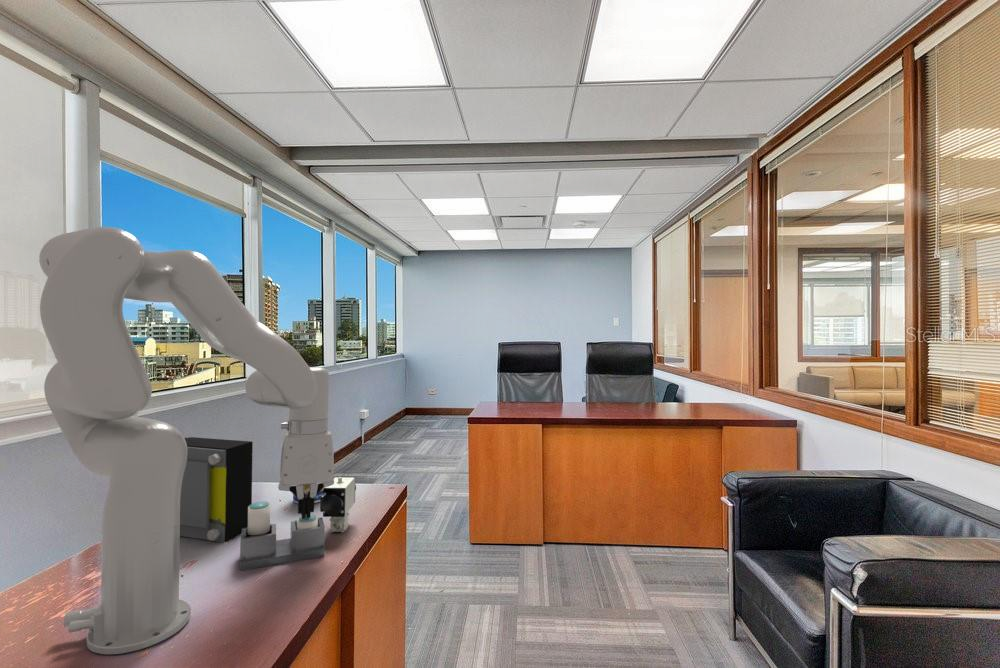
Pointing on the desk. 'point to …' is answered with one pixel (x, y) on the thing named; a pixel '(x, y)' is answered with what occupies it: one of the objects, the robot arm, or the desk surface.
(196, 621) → the desk surface
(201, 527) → the electrical component
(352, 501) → the pneumatic valve
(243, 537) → the mount
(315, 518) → the right knob
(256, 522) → the left knob
